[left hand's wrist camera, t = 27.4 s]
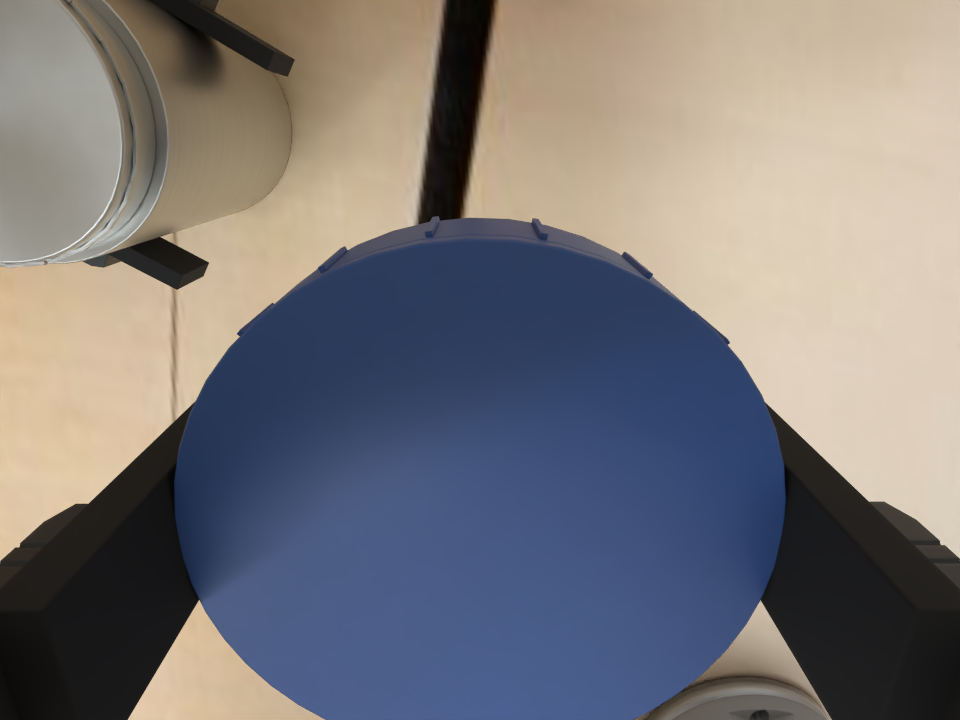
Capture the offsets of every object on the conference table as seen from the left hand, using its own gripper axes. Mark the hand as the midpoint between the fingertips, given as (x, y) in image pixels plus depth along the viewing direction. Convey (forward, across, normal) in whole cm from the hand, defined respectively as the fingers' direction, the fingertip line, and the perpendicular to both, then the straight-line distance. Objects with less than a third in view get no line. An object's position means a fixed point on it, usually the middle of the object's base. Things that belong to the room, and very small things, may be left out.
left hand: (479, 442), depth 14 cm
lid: (-3, 0, 0) cm, 3 cm away
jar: (+22, +14, -7) cm, 27 cm away
